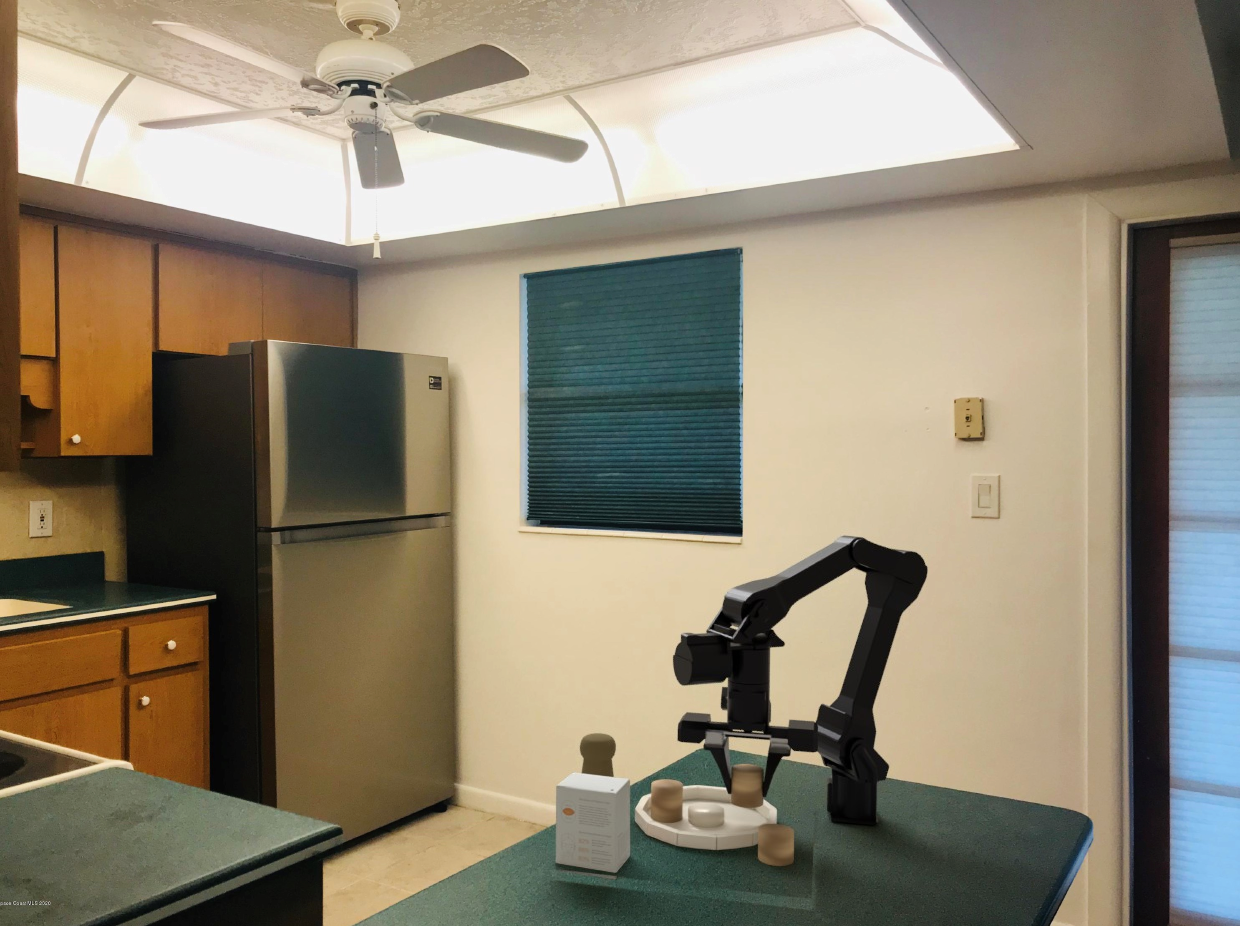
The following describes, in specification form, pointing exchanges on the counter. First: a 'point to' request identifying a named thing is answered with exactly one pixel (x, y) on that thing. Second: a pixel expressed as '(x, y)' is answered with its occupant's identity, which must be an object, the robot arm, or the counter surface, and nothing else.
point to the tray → (708, 836)
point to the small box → (593, 823)
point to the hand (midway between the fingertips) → (747, 794)
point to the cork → (598, 754)
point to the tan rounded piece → (747, 785)
